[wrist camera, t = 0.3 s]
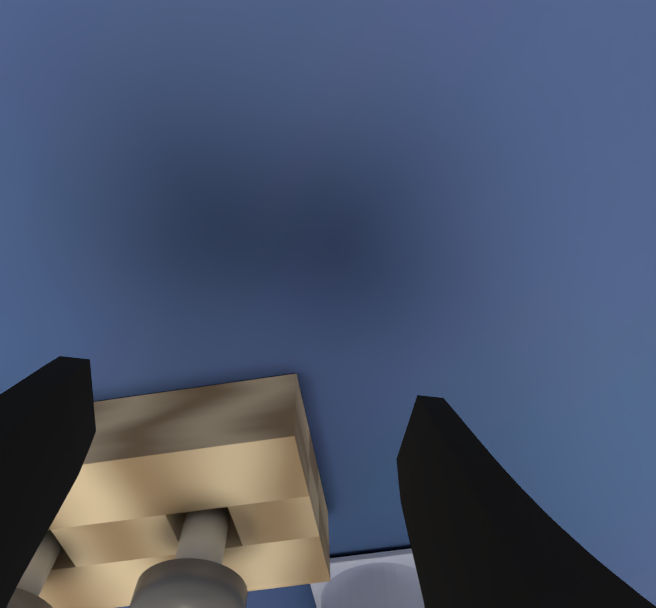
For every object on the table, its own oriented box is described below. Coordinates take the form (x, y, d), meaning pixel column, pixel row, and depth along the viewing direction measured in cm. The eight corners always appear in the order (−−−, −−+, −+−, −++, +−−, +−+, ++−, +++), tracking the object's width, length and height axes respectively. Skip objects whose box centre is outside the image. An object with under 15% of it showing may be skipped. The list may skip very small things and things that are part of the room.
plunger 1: (104, 560, 24) (59, 677, 19) (18, 571, 24) (-45, 689, 20) (67, 502, 21) (7, 618, 17) (-27, 514, 22) (-110, 632, 17)
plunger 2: (264, 540, 23) (254, 654, 19) (175, 551, 24) (146, 666, 19) (243, 478, 21) (227, 591, 17) (145, 491, 21) (105, 606, 17)
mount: (296, 373, 23) (294, 435, 19) (327, 511, 27) (330, 581, 24) (-227, 446, 24) (-319, 518, 20) (-107, 567, 29) (-164, 641, 25)
